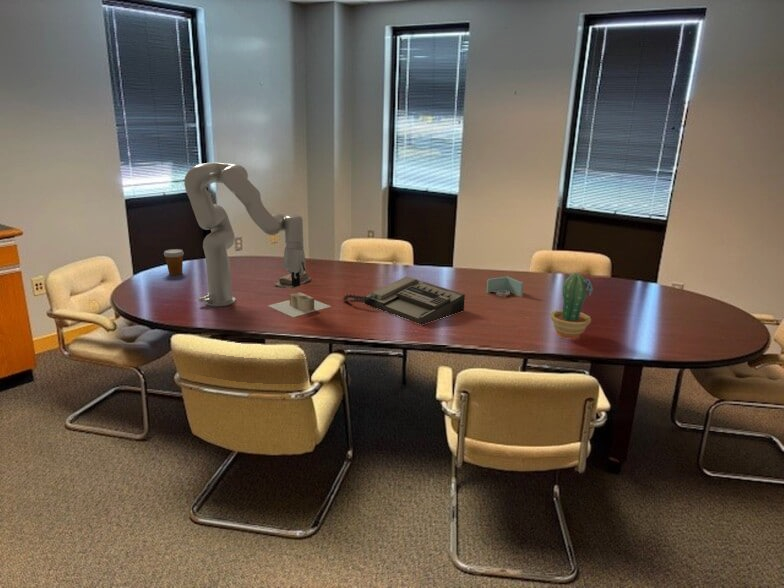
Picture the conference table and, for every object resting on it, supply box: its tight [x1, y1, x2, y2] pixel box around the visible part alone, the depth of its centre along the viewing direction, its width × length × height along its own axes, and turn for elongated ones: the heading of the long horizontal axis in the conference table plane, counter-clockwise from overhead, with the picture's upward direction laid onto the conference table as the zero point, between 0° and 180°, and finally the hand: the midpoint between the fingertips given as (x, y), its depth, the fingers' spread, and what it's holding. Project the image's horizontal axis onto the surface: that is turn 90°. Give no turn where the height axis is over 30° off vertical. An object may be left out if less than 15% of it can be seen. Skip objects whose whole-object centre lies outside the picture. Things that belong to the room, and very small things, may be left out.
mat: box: [267, 299, 331, 318], centre depth 243 cm, size 20×19×1 cm
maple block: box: [289, 291, 315, 312], centre depth 241 cm, size 5×5×11 cm
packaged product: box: [274, 270, 312, 289], centre depth 277 cm, size 18×5×10 cm
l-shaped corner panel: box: [486, 275, 525, 297], centre depth 265 cm, size 12×12×8 cm
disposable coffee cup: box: [163, 248, 185, 276], centre depth 286 cm, size 10×10×12 cm
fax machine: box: [341, 275, 466, 325], centre depth 246 cm, size 45×34×10 cm
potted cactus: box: [549, 272, 594, 339], centre depth 215 cm, size 15×15×25 cm
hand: (296, 286), depth 242 cm, fingers closed
